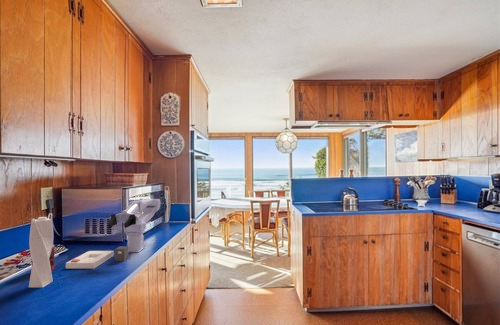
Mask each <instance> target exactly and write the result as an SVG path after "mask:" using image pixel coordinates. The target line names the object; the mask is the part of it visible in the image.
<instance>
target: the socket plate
mask: <svg viewBox="0 0 500 325" xmlns="http://www.w3.org/2000/svg"><path fill="white" fill-rule="evenodd" d="M112 257H115V250H87V251H86V252H85V253H82V254H80V255H79V256H77V257H74V258H72V259H71V260H68V261H67V262H65V269H72V270H73V269H96V268H97V267H98V266H100V265H102V264H103V263H105V262H107V261H108V260H109V259H111V258H112Z"/></svg>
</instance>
